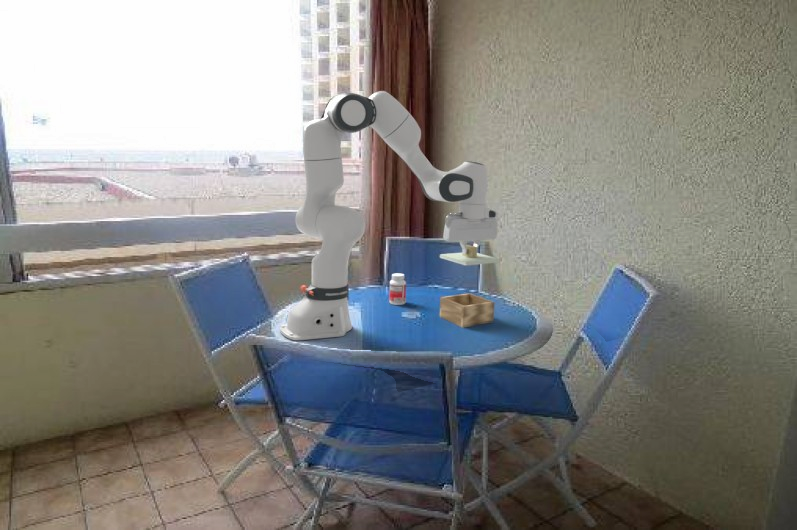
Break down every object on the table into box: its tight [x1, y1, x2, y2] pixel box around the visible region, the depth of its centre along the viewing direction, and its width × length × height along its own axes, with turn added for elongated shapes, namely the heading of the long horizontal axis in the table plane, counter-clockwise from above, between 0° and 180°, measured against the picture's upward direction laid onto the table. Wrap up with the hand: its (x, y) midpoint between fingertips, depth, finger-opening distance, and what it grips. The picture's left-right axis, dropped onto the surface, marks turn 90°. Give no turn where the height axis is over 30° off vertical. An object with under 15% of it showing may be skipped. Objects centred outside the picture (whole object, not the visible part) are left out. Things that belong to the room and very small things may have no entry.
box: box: [439, 292, 495, 329], centre depth 174 cm, size 13×13×7 cm
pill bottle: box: [388, 272, 407, 306], centre depth 191 cm, size 6×6×11 cm
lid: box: [439, 244, 500, 266], centre depth 170 cm, size 14×14×5 cm
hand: (469, 253), depth 170 cm, fingers closed on lid
